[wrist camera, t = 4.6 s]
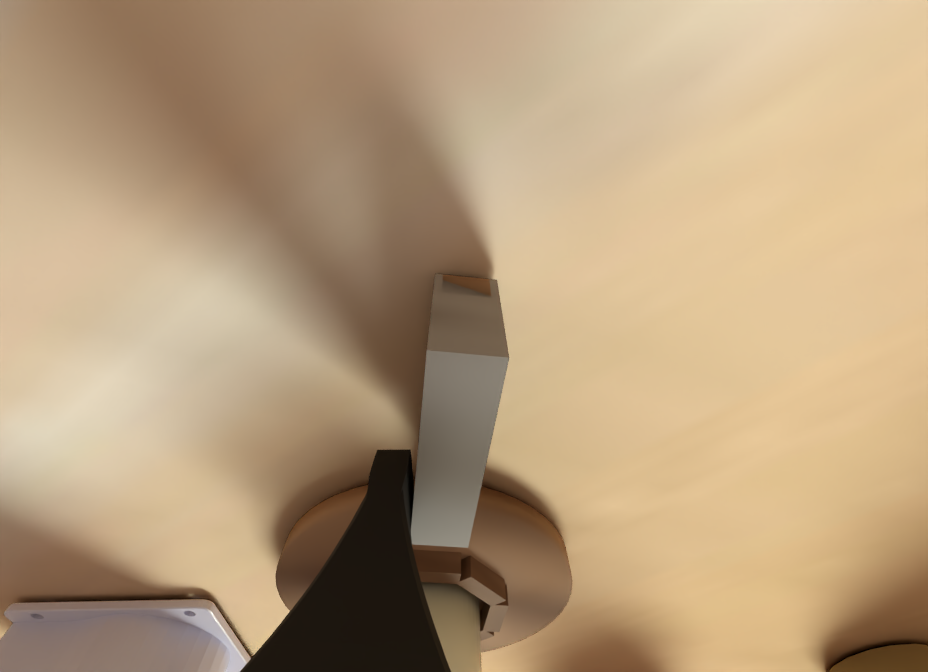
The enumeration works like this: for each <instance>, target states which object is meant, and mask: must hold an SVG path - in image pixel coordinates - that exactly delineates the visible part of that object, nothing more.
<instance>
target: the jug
mask: <svg viewBox="0 0 928 672" xmlns="http://www.w3.org/2000/svg"><path fill="white" fill-rule="evenodd" d="M421 583H422V586H423V590H424V593H425V597H426V600H427V603H428V607H429V610H430V613H431V616H432V619H433V622H434V625H435V628H436V631H437V634H438V637H439V639H440V642H441V645H442V648H443V651H444V654H445V657H446V660H447V662H448V665H449V667H450V670H451V672H482V667H481V638H480V609H479V598H478V597H476V596H475V595H473V594H472V593H470V592H469V591H467V590H466V589H464V588H463V587H461V586H459V585H458V584H449V583H431V582H421Z"/></svg>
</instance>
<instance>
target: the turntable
mask: <svg viewBox="0 0 928 672" xmlns="http://www.w3.org/2000/svg"><path fill="white" fill-rule="evenodd" d="M508 361H509V354H508V347H507V341H506V335H505V328H504V322H503V316H502V309H501V303H500V297H499V290H498V284H497V280H492V279H482V278H473V277H463V276H454V275H444V274H435V280H434V289H433V298H432V307H431V316H430V325H429V334H428V343H427V353H426V364H425V376H424V387H423V398H422V410H421V421H420V432H419V444H418V455H417V467H416V478H415V479H413V480H414V501H413V512H412V524H411V538H412V547H413V552H414V556H415V560H416V564H417V568H418V572H419V576H420V579H421V582H431V583H449V584H458V585H459V586H461V587H463V588H464V589H466V590H467V591H469V592H470V593H472V594H473V595H475V596H476V597H478V598H479V609H480V638H481V652H486V651H490V650H495V649H498V648H501V647H505V646H508V645H511V644H513V643H516V642H518V641H521V640H523V639H525V638H527V637H529V636H531V635H533V634H535V633H537V632H538V631H540V630H541V629H543V628H544V627H546V626H547V625H548V624H550V623H551V622H552V621H553V620H554V619H555V618H556V617H557V616H558V615H559V614H560V613H561V612H562V610H563V609H564V607H565V606H566V604H567V602H568V600H569V597H570V595H571V590H572V576H571V570H570V566H569V561H568V556H567V551H566V547H565V545H564V542H563V540H562V537H561V536H560V534H559V533H558V531H557V530H556V528H555V527H554V526H553V525H552V524H551V523H550V522H549V521H548V520H547V519H546V518H545V517H544V516H543V515H542V514H540V513H539V512H538V511H536V510H535V509H534V508H532V507H530V506H529V505H527V504H525V503H523V502H522V501H520V500H518V499H516V498H513V497H511V496H509V495H506V494H504V493H502V492H499V491H495V490H492V489H489V488H486V487H482V481H483V476H484V472H485V467H486V462H487V458H488V453H489V449H490V444H491V439H492V435H493V430H494V425H495V421H496V416H497V412H498V407H499V402H500V398H501V393H502V388H503V384H504V379H505V374H506V370H507V365H508ZM367 490H368V485H365V486H361V487H357V488H353V489H351V490H348V491H345V492H342V493H340V494H337V495H335V496H333V497H331V498H329V499H327V500H325V501H323V502H321V503H319V504H318V505H316V506H315V507H313V508H312V509H310V510H309V511H308V512H307V513H306V514H305V515H303V516H302V517H301V518H300V519H299V520H298V521H297V523H296V524H295V525H294V527H293V528H292V530H291V531H290V533H289V536H288V538H287V540H286V543H285V545H284V548H283V551H282V554H281V557H280V560H279V563H278V565H277V571H276V586H277V589H278V592H279V595H280V597H281V599H282V601H283V602H284V604H285V606H286V607H287V608H288V609H289V610H290V611H291V610H292V608H293V607H294V606H295V604H296V603H297V602H298V600H299V599H300V598H301V597H302V595H303V594H304V593H305V591H306V590H307V588H308V587H309V586H310V584H311V583H312V581H313V580H314V579H315V577H316V576H317V574H318V573H319V571H320V570H321V568H322V567H323V566H324V564H325V563H326V561H327V560H328V558H329V556H330V555H331V553H332V552H333V550H334V549H335V547H336V545H337V544H338V542H339V540H340V539H341V537H342V536H343V534H344V532H345V531H346V529H347V528H348V526H349V524H350V522H351V521H352V519H353V517H354V515H355V513H356V512H357V510H358V508H359V506H360V504H361V502H362V501H363V499H364V497H365V495H366V493H367Z"/></svg>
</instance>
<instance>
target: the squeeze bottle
mask: <svg viewBox="0 0 928 672" xmlns="http://www.w3.org/2000/svg"><path fill="white" fill-rule="evenodd" d="M829 672H928V645H922V644H904V645H891V646H885V647H880V648H875V649H871V650H867V651H864V652H862V653H859V654H856V655H853V656H851V657H848V658H846V659H844V660H843V661H841V662H839V663H838V664H836V665H834V666H833V667H832V668H831V669H830V671H829Z"/></svg>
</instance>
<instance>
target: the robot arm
mask: <svg viewBox="0 0 928 672" xmlns="http://www.w3.org/2000/svg"><path fill="white" fill-rule="evenodd" d="M413 501H414V480H413V470H412V459H411V450H377V453H376V456H375V458H374V461H373V465H372V468H371V472H370V476H369V483H368V490H367V493H366V495H365V497H364V499H363V501H362V502H361V504H360V506H359V508H358V510H357V512H356V513H355V515H354V517H353V519H352V521H351V522H350V524H349V526H348V528H347V529H346V531H345V532H344V534H343V536H342V537H341V539H340V540H339V542H338V544H337V545H336V547H335V549H334V550H333V552H332V553H331V555H330V556H329V558H328V560H327V561H326V563H325V564H324V566H323V567H322V568H321V570H320V571H319V573H318V574H317V576H316V577H315V579H314V580H313V581H312V583H311V584H310V586H309V587H308V588H307V590H306V591H305V593H304V594H303V595H302V597H301V598H300V599H299V600H298V602H297V603H296V604H295V606H294V607H293V608H292V610H291V611H290V612H289V613H288V615H287V616H286V617H285V619H284V620H283V621H282V623H281V624H280V625H279V626H278V627H277V629H276V630H275V631H274V632H273V634H272V635H271V636H270V637H269V638H268V640H267V641H266V642H265V643H264V644H263V645H262V647H261V648H260V649H259V650H258V651H257V652H256V654H255V655H254V656H253V657H252V658H250V656H249V655H248V653H247V652H246V650H245V649H244V647H243V646H242V644H241V643H240V641H239V640H238V638H237V637H236V635H235V634H234V632H233V631H232V629H231V628H230V626H229V625H228V623H227V622H226V620H225V619H224V618H223V616H222V615H221V613H220V612H219V610H218V609H217V607H216V606H215V604H214V603H213V602H211V601H209V600H205V599H183V600H132V601H82V602H31V603H13V604H11V605H9V607H8V608H7V609H6V610H5V612H4V616H5V617H6V618H7V619H9V620H10V621H11V622H12V623H13V624H12V625H11V626H10V628H9V629H8V630H7V631H6V633H5V634H4V635H3V637H2V638H1V639H0V672H451V670H450V667H449V665H448V662H447V660H446V657H445V654H444V651H443V648H442V645H441V642H440V639H439V637H438V634H437V631H436V628H435V625H434V622H433V619H432V616H431V613H430V610H429V607H428V603H427V600H426V597H425V593H424V590H423V586H422V583H421V579H420V576H419V572H418V568H417V564H416V560H415V556H414V552H413V547H412V538H411V524H412V512H413Z"/></svg>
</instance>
